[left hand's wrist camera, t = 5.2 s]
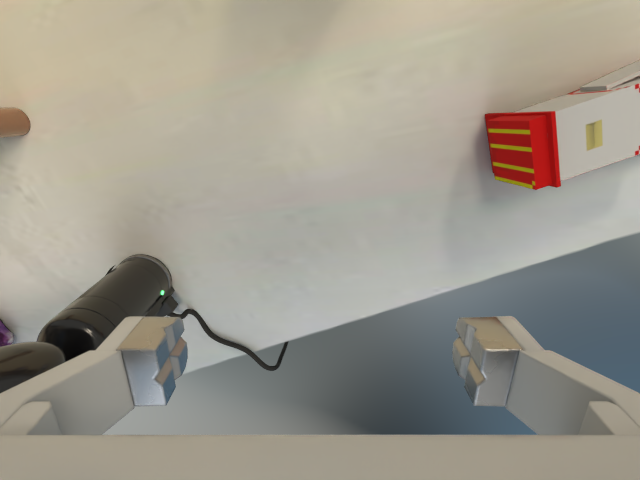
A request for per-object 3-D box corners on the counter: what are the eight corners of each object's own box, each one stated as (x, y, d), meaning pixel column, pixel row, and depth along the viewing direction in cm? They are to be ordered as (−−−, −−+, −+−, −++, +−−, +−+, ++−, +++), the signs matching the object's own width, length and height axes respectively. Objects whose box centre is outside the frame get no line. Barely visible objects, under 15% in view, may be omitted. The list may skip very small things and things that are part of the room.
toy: (762, 126, 45) (541, 203, 44) (654, 125, 58) (481, 185, 57) (775, 21, 41) (532, 103, 40) (656, 44, 54) (469, 107, 53)
